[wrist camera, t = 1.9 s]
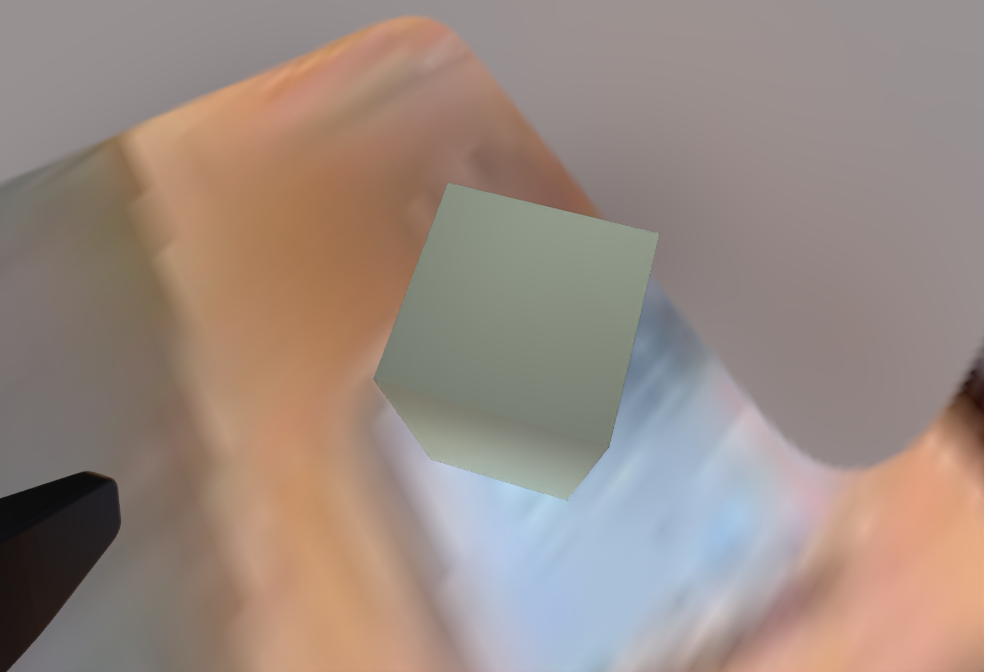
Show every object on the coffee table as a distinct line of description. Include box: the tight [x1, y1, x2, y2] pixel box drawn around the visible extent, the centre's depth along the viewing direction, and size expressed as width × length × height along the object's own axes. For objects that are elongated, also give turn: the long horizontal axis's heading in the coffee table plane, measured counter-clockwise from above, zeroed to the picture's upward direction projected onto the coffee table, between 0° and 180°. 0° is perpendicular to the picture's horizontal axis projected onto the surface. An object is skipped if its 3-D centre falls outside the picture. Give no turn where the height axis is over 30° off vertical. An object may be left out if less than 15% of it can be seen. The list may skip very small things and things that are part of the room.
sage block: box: [374, 183, 659, 500], centre depth 16 cm, size 4×4×9 cm
